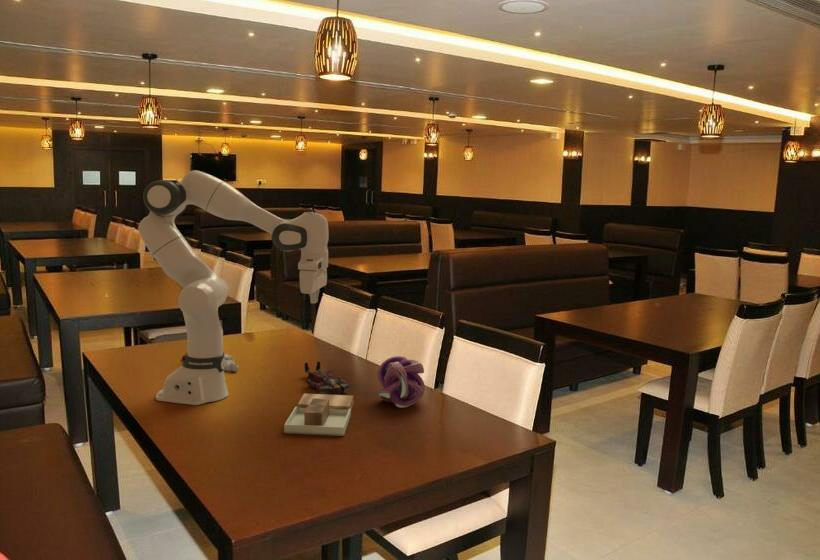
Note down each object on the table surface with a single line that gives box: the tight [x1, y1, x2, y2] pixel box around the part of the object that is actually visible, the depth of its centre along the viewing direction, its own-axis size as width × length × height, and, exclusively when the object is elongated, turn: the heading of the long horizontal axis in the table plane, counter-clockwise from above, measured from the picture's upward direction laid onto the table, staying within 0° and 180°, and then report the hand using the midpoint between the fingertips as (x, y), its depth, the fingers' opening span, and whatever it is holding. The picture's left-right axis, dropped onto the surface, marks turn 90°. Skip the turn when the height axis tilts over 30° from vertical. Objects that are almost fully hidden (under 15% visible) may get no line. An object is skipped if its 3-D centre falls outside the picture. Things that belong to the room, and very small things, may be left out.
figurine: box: [304, 361, 350, 395], centre depth 217 cm, size 13×6×30 cm
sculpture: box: [376, 355, 426, 409], centre depth 205 cm, size 16×17×20 cm
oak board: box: [297, 393, 354, 411], centre depth 197 cm, size 16×10×3 cm, turn 88°
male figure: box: [224, 352, 240, 373], centre depth 238 cm, size 11×10×25 cm
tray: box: [283, 405, 352, 437], centre depth 184 cm, size 17×16×2 cm
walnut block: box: [304, 398, 329, 426], centre depth 184 cm, size 5×5×12 cm
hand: (314, 302), depth 207 cm, fingers closed
